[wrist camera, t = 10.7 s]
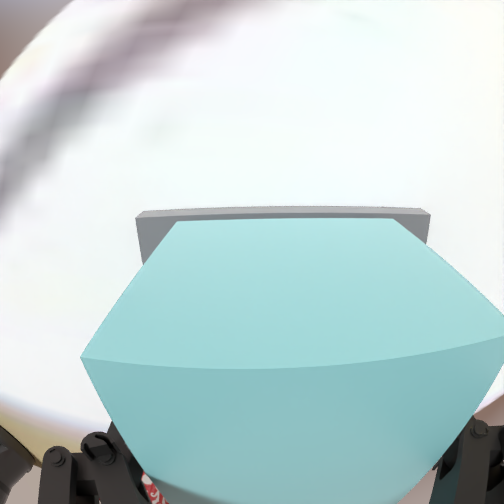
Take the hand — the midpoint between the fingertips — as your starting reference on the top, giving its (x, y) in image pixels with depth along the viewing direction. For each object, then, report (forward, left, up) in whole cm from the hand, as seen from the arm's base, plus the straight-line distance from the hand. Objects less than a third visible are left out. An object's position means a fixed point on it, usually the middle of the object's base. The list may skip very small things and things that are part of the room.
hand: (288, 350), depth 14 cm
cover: (0, -2, -2) cm, 3 cm away
